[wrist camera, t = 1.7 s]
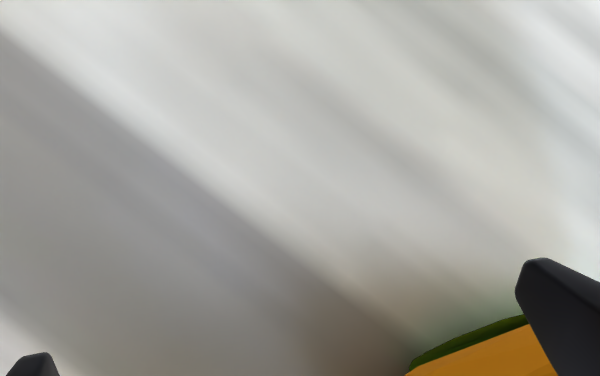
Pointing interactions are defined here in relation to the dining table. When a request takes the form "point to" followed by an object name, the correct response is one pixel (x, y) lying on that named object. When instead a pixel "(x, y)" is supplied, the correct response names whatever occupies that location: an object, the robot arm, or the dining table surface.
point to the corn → (488, 353)
